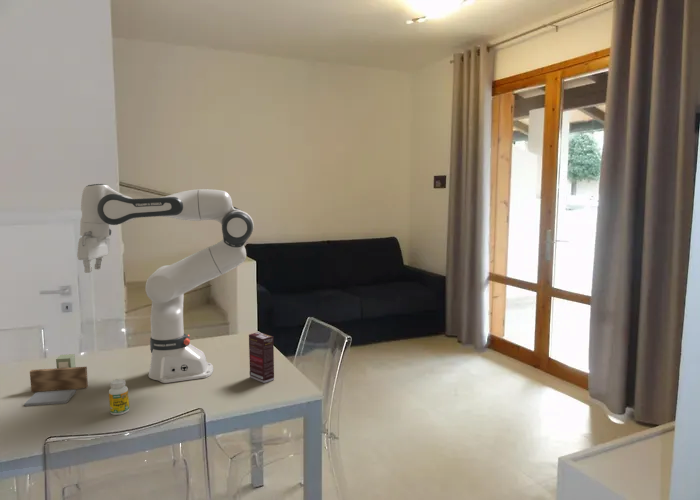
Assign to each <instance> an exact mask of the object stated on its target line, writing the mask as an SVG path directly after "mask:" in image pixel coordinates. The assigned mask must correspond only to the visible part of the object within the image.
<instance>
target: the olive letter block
mask: <svg viewBox="0 0 700 500" xmlns="http://www.w3.org/2000/svg"><path fill="white" fill-rule="evenodd" d="M55 361H56V363H55V364H56V368H72V367H77V366H76V355H75V353H72V354H68V353H67V354H60V355H59V356H58V357H56V359H55Z"/></svg>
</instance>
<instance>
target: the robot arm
mask: <svg viewBox="0 0 700 500" xmlns="http://www.w3.org/2000/svg"><path fill="white" fill-rule="evenodd" d="M80 211H81V218H80V227H79V236H81V237H80V238H79V240H78V243H77V254H76V255H77V259H78V260H79V261H82V263H83V267H84V273H87V274H89V273H92V271H93V270H92V269H93V268H92V260H94V259H95V264H94V270H101V269H102V263H103V259H104V257H105V256H108V254H109V251H110V246H111V245H110V244H111V236H113V230H112V228H110V225H111V226H117V225H121V224H126V223H130V222H132V221H135V220H136V219H138V218H152V217H153V218H155V217H165V218H172V219H176V220H177V219H178V220H181V221H182V220H183V221H194V222H195V221H197V222H199V221H216V222H219V223H220V224H221V232H222V233H221V234H222V240H221V241H219V242H217V243H215V244H213V245H210V246H209V247H206V248H203V249H201V250H198V251H197V252H194V253H192V254H190V255H188V256H186V257H184V258H183V259H180V260H178V261H176V262H173V263H171V264H170V265H169V264H167V265H162V266H159V267H158V268H157V269H156V270H155V271H154V272H152V274H150V275H149V277H147V280H146V283H145V293H146V296H147V298H148V299H149V300H150V301H151V309H150V316H149V317H150V334H151V335H150V339H149V347H150V353H151V359H150V368H149V372H148V378H149V379H151V380H154V381H157V382H158V381H159V382H161V383H163V384H168V383H176V382H182V381H191V380H197V379H204V378H205V379H206V378H208V377H210V376H211V375H212V374H213V373H214V365H213V364H212V363H211V362H208V361H207V357H206V355H205V352H204V351H203V350H201V349H199V348H197V347H196V346H194V345H193V344H191V338H190V334H186V333H185V331H184V329H185V328H184V300H185V299H184V298H185V297H184V296H185V294H186V293H188V292H190V291H192V290H194V289H195V288H197V287H198V286H201V285H203V284H204V283H207V282H209V281H211V280H213V279H216V278H218V277H220V276H223V275H225V274H227V273H228V272H230V271H232V270H234V269H235V268H237V267H239V266H240V265H242V264H243V263H244V262H245V261H246V259H247V249H246V247H245V244H246V243H247V241H248V240H249V238H250V237H251V235H252V233H253V232H254V230H255V229H254V227H255V224H254V223H255V222H254V220H253V218H252V216H251V215H250V214H249V213H247V212H246V211H244V210H242V209H240V208H238V207H235V206H234V205H233V199H232V197H231V195H230V194H229V193H228V192H227V191H225V190H222V189H220V190H219V189H211V188H210V189H207V188H201V189H199V188H198V189H197V188H196V189H190V190H183V191H179V192H175V193H172V194H168V195H166V196H161V197H160V196H159V197H146V198H145V197H144V198H133V197H131V196H129V195H126V194H124V193H120V192H119V191H116V190H115V189H113V188H112V187H110V185H108V184H106V183H94V184H93V183H92V184H88V185H86V186H85V187H84V188H83V191H82V194H81V203H80Z"/></svg>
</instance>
